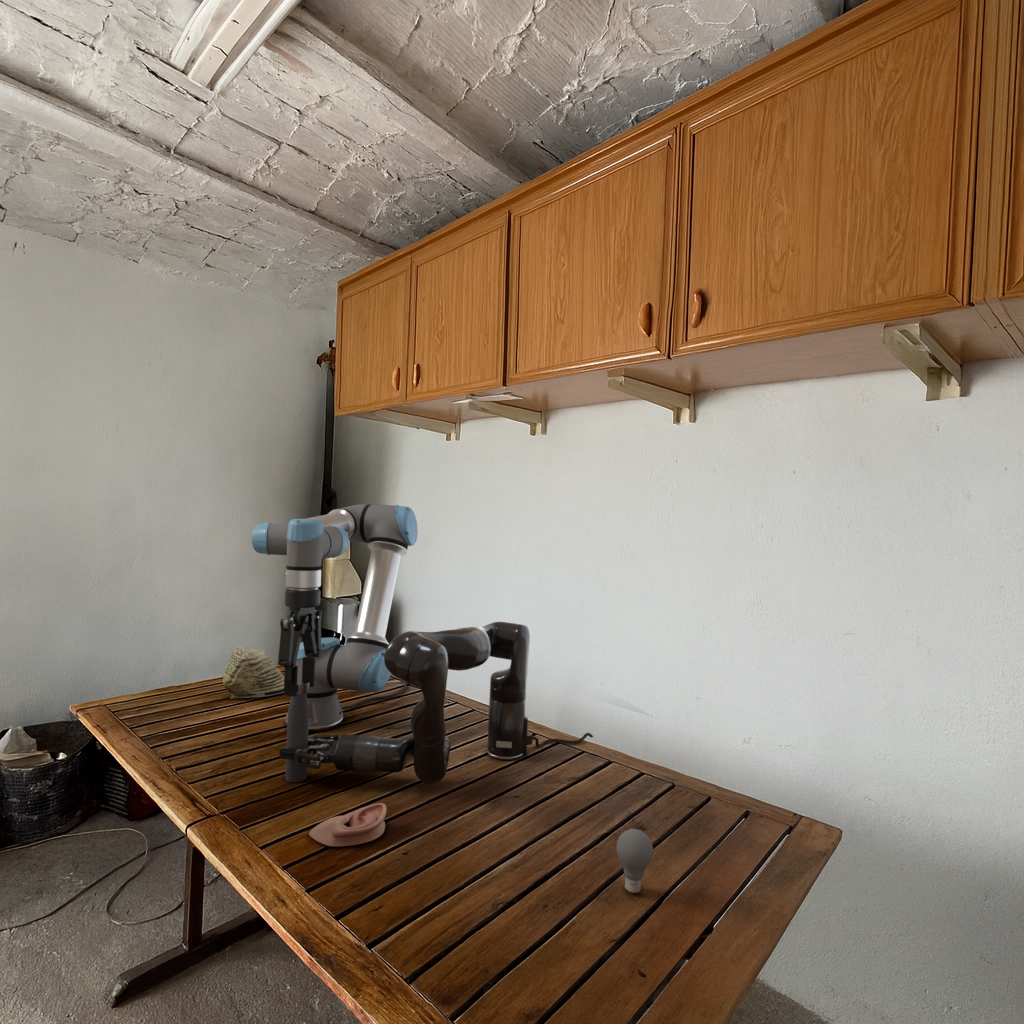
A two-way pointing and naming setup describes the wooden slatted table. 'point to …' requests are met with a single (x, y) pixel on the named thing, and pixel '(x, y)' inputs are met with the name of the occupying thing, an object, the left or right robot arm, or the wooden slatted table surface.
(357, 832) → the anatomical model
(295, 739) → the bottle
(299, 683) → the cap
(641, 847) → the light bulb
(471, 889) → the wooden slatted table surface
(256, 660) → the fossil
